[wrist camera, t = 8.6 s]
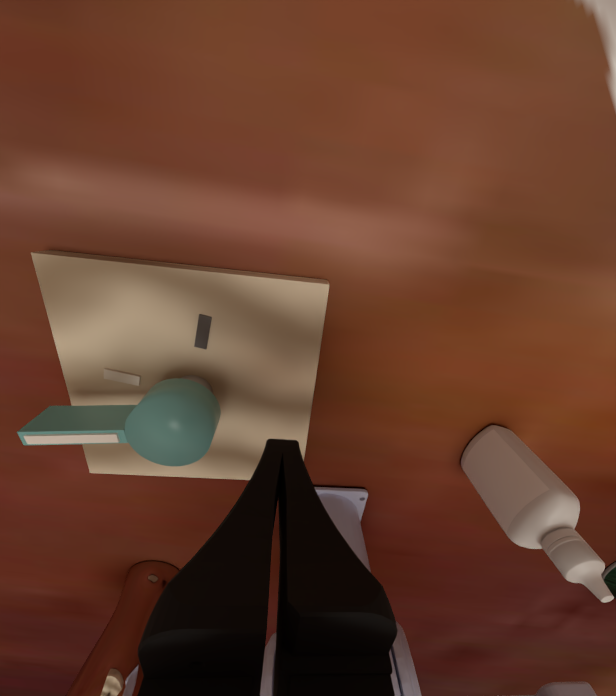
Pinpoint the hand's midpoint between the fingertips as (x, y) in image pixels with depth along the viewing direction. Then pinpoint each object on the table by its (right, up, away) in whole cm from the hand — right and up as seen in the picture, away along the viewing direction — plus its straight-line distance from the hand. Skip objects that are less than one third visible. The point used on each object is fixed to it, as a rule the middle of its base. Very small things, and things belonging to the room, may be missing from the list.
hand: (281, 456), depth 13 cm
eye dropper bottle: (+18, -4, +15) cm, 23 cm away
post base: (-7, +2, +10) cm, 13 cm away
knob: (-10, +1, +6) cm, 12 cm away
